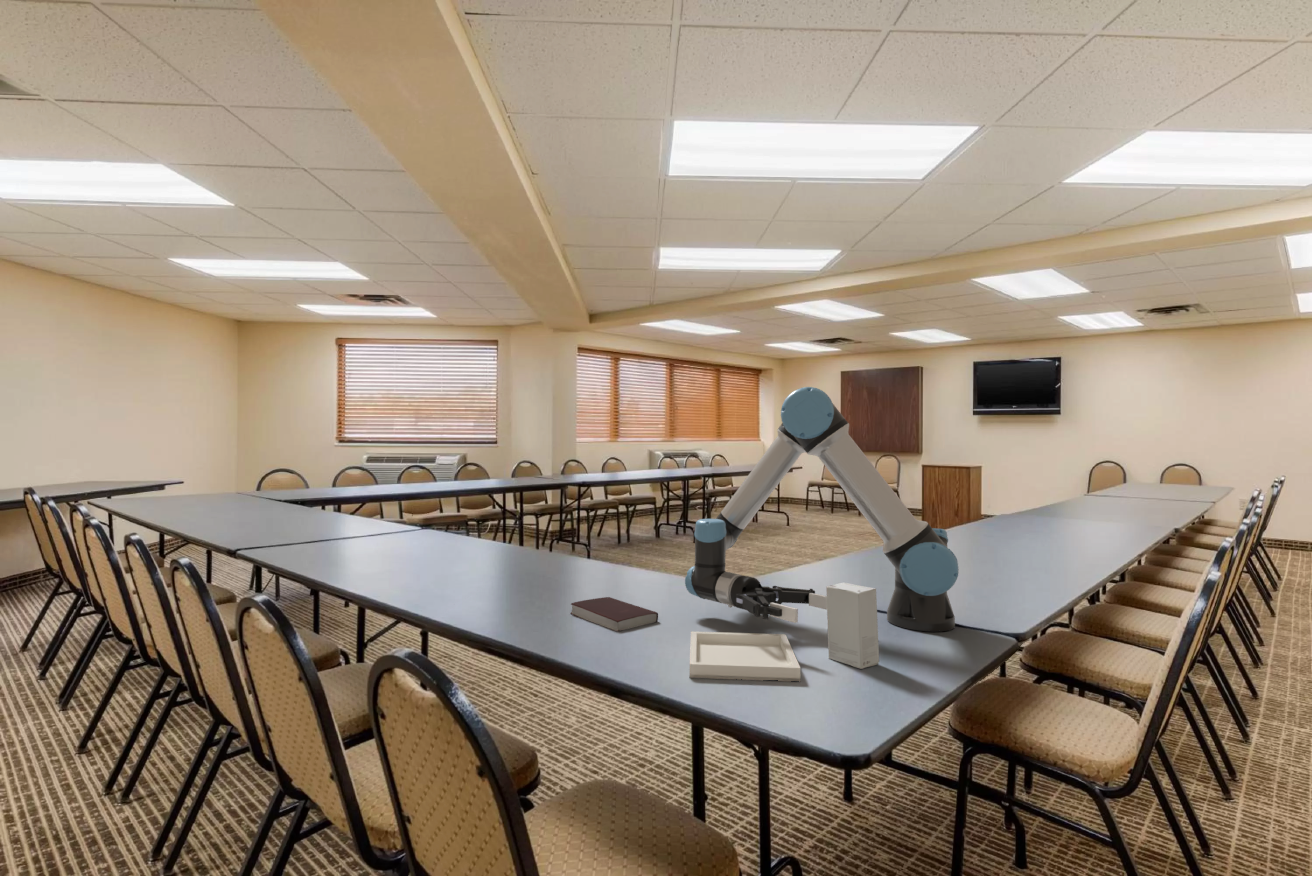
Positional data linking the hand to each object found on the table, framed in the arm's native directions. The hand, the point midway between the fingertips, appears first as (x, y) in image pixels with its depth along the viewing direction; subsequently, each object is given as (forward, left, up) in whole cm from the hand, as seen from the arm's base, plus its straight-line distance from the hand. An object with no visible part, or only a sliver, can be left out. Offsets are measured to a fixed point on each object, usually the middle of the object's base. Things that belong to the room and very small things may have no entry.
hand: (816, 610), depth 132 cm
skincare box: (-6, +6, -9) cm, 12 cm away
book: (+45, -20, -9) cm, 50 cm away
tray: (+16, +8, -8) cm, 20 cm away
